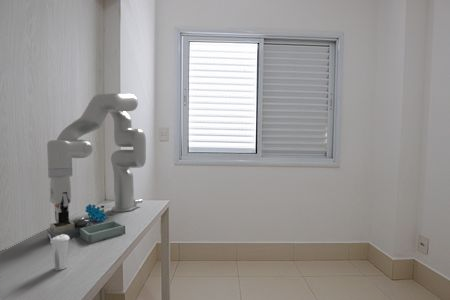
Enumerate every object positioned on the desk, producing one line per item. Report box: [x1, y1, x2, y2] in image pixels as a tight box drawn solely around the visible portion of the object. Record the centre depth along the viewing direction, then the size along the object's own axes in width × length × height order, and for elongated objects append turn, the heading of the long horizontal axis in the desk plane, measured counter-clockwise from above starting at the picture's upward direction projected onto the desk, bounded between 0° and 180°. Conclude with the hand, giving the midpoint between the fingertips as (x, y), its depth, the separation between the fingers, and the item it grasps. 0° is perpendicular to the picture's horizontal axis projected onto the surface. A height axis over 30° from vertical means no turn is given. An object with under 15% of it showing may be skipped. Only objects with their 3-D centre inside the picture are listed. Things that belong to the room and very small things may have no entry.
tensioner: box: [46, 217, 96, 241], centre depth 95 cm, size 14×8×6 cm, turn 137°
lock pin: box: [54, 202, 70, 227], centre depth 93 cm, size 4×4×10 cm
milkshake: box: [48, 233, 71, 271], centre depth 70 cm, size 4×5×10 cm
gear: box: [85, 203, 107, 223], centre depth 112 cm, size 11×6×10 cm
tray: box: [79, 219, 126, 244], centre depth 94 cm, size 13×10×3 cm
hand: (62, 220), depth 93 cm, fingers closed on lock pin, 3 cm apart
